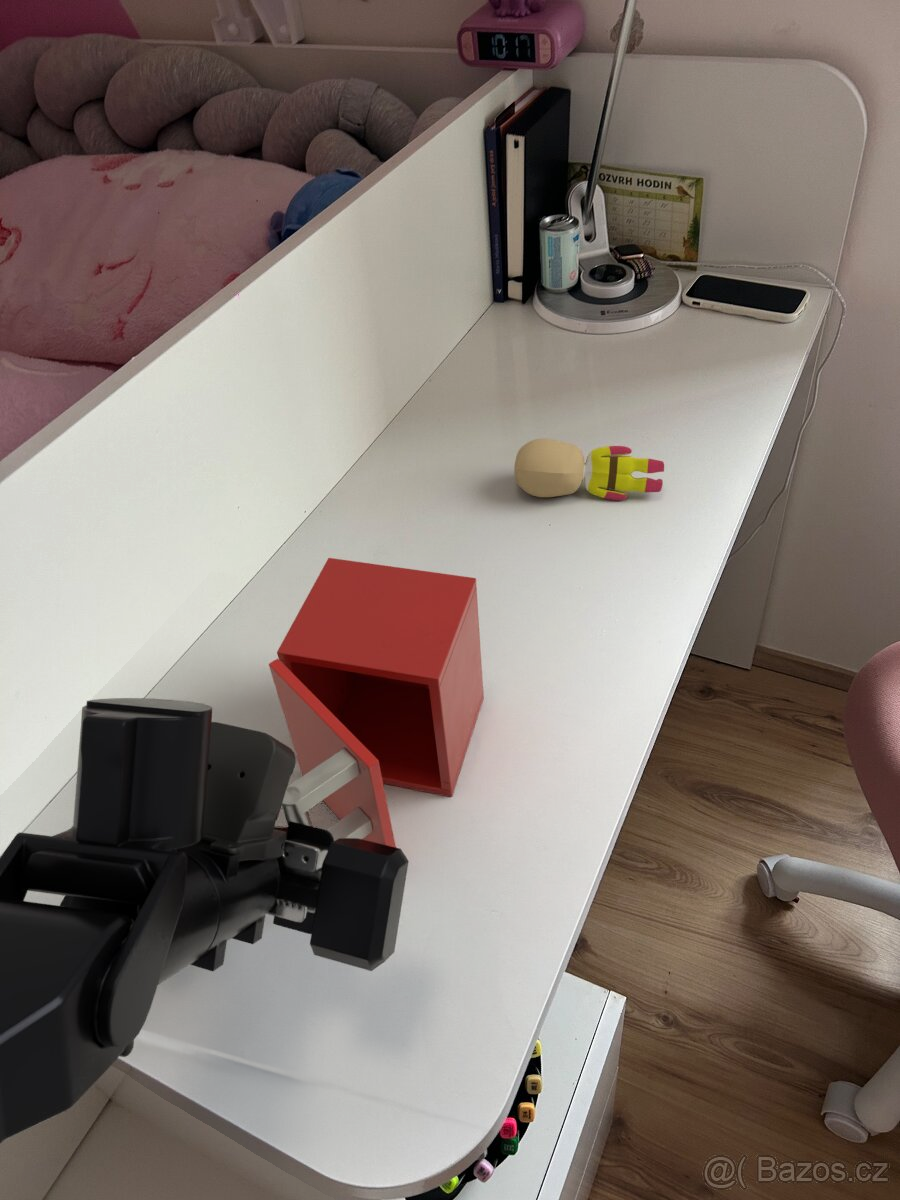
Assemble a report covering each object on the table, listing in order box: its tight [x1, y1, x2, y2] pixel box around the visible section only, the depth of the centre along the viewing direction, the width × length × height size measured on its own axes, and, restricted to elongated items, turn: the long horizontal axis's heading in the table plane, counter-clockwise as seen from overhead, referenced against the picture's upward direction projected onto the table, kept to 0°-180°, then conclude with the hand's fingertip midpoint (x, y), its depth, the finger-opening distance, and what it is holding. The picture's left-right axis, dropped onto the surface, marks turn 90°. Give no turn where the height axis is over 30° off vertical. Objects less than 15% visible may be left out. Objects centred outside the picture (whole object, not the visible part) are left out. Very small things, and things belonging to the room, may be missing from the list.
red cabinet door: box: [268, 658, 397, 848], centre depth 63 cm, size 6×12×13 cm, turn 40°
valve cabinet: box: [276, 557, 485, 798], centre depth 70 cm, size 10×12×14 cm
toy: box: [513, 438, 665, 501], centre depth 94 cm, size 6×7×15 cm
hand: (304, 839), depth 60 cm, fingers closed
